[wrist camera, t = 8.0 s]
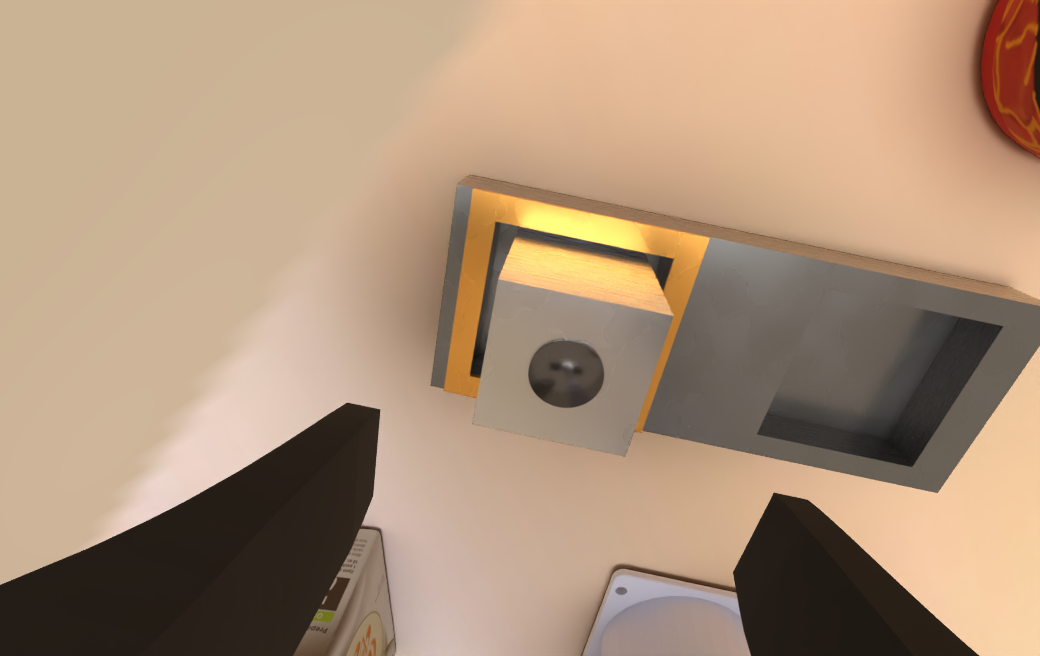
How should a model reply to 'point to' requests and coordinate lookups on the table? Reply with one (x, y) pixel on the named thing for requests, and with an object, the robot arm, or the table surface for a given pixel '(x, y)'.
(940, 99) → the table surface
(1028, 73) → the canned food
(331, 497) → the robot arm
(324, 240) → the table surface
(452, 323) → the rail
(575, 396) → the silver square slider
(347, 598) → the coffee box
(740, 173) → the table surface
